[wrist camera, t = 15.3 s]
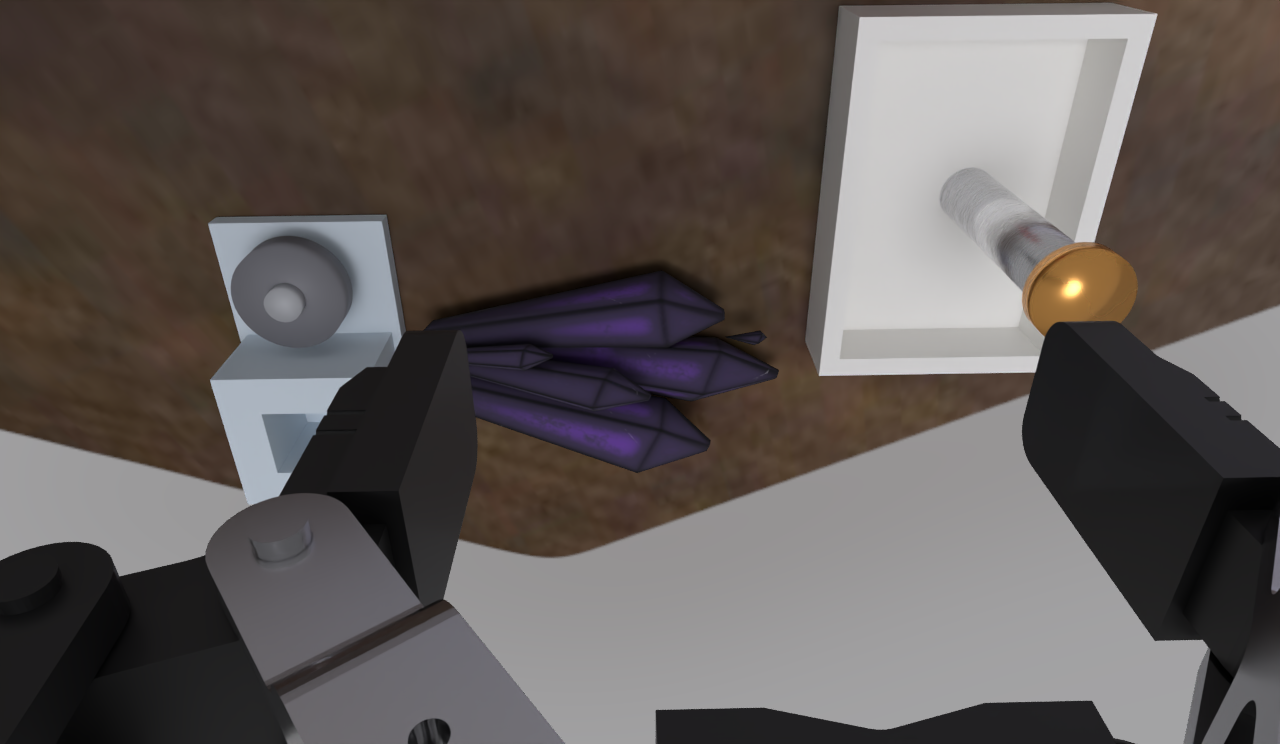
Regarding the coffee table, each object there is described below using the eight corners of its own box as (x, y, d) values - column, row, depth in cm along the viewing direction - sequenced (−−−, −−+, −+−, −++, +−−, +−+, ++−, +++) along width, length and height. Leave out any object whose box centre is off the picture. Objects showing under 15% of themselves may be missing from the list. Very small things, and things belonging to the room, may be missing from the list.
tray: (839, 5, 40) (859, 17, 37) (1111, 2, 40) (1157, 13, 37) (805, 341, 49) (818, 375, 46) (1027, 337, 49) (1058, 371, 46)
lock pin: (935, 156, 43) (1045, 252, 32) (1012, 155, 43) (1150, 250, 32) (922, 230, 45) (1022, 345, 34) (996, 229, 45) (1121, 344, 34)
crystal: (403, 473, 46) (769, 513, 45) (397, 269, 41) (806, 312, 41) (439, 414, 52) (760, 448, 52) (437, 233, 48) (790, 269, 47)
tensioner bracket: (216, 217, 45) (162, 260, 39) (386, 214, 45) (355, 257, 40) (279, 449, 52) (241, 511, 47) (425, 446, 52) (403, 508, 47)
